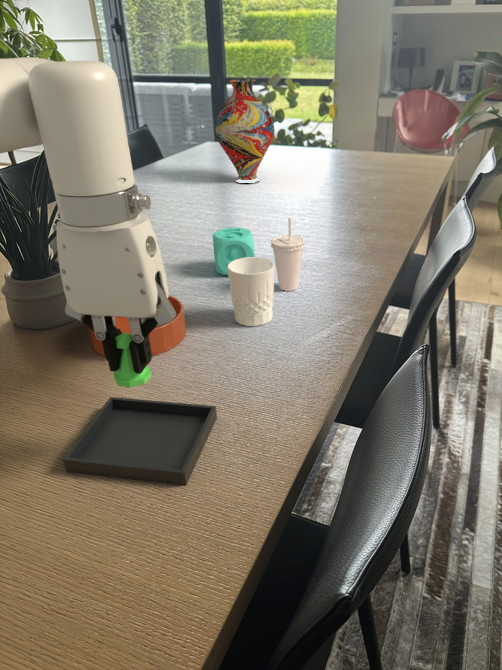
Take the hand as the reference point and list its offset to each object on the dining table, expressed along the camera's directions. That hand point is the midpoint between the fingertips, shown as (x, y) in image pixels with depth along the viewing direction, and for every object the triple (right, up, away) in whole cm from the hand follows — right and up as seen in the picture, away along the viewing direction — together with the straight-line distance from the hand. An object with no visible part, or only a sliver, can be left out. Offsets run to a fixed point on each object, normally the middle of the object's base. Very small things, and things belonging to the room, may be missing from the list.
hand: (130, 365), depth 63 cm
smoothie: (+19, +16, +46) cm, 52 cm away
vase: (+6, +63, +121) cm, 137 cm away
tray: (0, -10, +6) cm, 12 cm away
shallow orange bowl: (-7, +6, +30) cm, 32 cm away
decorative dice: (+8, +21, +55) cm, 59 cm away
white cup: (+13, +9, +35) cm, 38 cm away
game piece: (0, -2, +1) cm, 2 cm away
